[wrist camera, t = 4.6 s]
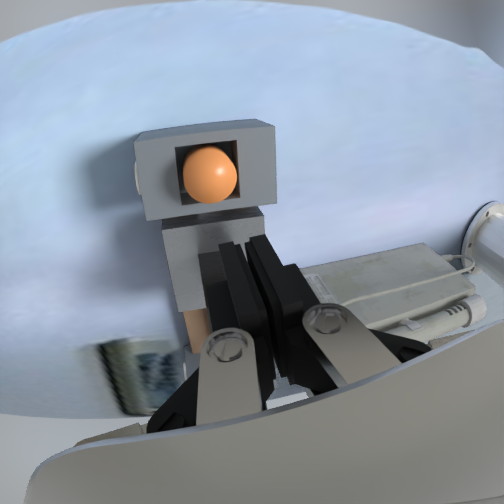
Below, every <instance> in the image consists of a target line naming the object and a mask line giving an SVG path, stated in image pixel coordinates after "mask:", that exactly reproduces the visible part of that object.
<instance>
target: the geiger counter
mask: <svg viewBox="0 0 504 504" xmlns="http://www.w3.org/2000/svg"><path fill="white" fill-rule="evenodd" d="M454 258H467V259H469V260H470V261H471V262H472V264H471V265H470V266H469V267H467V268H464V269H461V270H456V269H455V268H454V267H453V266H452V265H450V264H449V263H448V262H451V261H452V260H453V259H454ZM474 265H475V261H474V259H473V258H471V257H470V256H468V255H451V254H448V255H440V256H439V255H438V254H437V253H436V252H435V251H433V250H432V249H431V248H430V247H428V246H427V245H426V244H424V243H419V244H415V245H410V246H406V247H401V248H397V249H392V250H387V251H383V252H378V253H373V254H369V255H364V256H359V257H355V258H350V259H345V260H340V261H335V262H331V263H326V264H321V265H316V266H311V267H306V268H301V269H299V270H300V271H301V273H302V274H303V276H304V277H305V279H306V280H307V282H308V284H309V285H310V287H311V288H312V290H313V292H314V293H315V295H316V296H317V298H318V299H319V301H320V303H336V304H339V305H342V306H344V307H346V308H347V309H349V310H350V311H351V312H352V313H353V314H354V315H355V316H356V317H357V318H358V319H359V320H360V321H361V322H362V323H363V324H364V325H365V326H366V327H367V328H369V329H373V330H377V331H381V332H385V333H389V334H393V335H397V336H402V337H406V338H410V339H414V340H418V341H420V342H423V343H425V342H427V341H429V340H432V339H435V338H437V337H439V336H442V335H444V334H446V333H448V332H451V331H453V330H455V329H457V328H459V327H464V328H465V327H468V326H470V325H472V324H474V323H477V322H479V321H481V320H482V319H483V318H484V317H485V315H486V312H487V307H486V303H485V301H484V299H483V298H482V297H481V296H480V295H476V294H475V295H474V293H475V289H476V286H475V285H474V284H473V283H471V282H470V281H469V280H468V279H467V278H466V277H465V276H463V275H462V274H461V273H463V272H466V271H469V270H470V269H472V268H473V267H474Z"/></svg>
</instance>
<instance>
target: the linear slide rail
mask: <svg viewBox="0 0 504 504" xmlns="http://www.w3.org/2000/svg"><path fill="white" fill-rule="evenodd" d="M133 143H134V150H135V157H136V162H135V181H136V186H137V190H138V193H139V195H142V200H143V206H144V211H145V217H146V221H152V220H158V219H165V218H171V217H178V216H185V215H192V214H199V213H206V212H213V211H221V210H228V209H236V208H244V207H252V206H260V205H268V204H277V184H276V144H275V126H273V125H270V124H268V123H265V122H263V121H260V120H257V119H247V120H234V121H223V122H212V123H203V124H194V125H186V126H179V127H171V128H164V129H158V130H151V131H145V132H142V133H141V134H140V135H139V137H138V138H137V139H136V140H135V141H134V142H133ZM203 143H211V144H214V145H217V146H218V147H220V148H221V149H222V150H223V151H224V152H225V154H226V155H227V156H228V158H229V159H230V160H231V162H232V163H233V165H234V167H235V169H236V173H237V181H236V185H235V188H234V190H233V191H232V193H231V194H230V195H229V196H228V197H227V198H225V199H224V200H222V201H220V202H217V203H212V204H206V203H201V202H199V201H196V200H195V199H193V198H192V197H191V196H190V195H189V194H188V192H187V190H186V188H185V186H184V178H183V160H184V157H185V155H186V154H187V152H188V151H189V150H190V149H191V148H192V147H194V146H196V145H198V144H203ZM184 353H185V362H183V369H184V376H185V381H186V380H187V379H188V378H189V377H190V376H191V375H192V374H193V373H194V372H195V370H196V369H197V368H198V367H199V365H200V353H195V354H193V352H192V348H191V345H190V346H184ZM274 364H275V371H276V378H277V366H276V363H275V360H274ZM273 382H274V389H277V379H275V380H273Z"/></svg>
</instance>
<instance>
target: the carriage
mask: <svg viewBox="0 0 504 504" xmlns="http://www.w3.org/2000/svg"><path fill="white" fill-rule="evenodd" d="M262 234H265V229H264V215H263V214H262V212H261V211H260V209H259V208H258V206H252V207H244V208H236V209H228V210H221V211H213V212H206V213H199V214H192V215H185V216H178V217H171V218H165V219H163V220H162V235H163V240H164V246H165V251H166V256H167V261H168V266H169V271H170V275H171V280H172V285H173V289H174V294H175V298H176V303H177V307H178V312H183V311H190V310H196V309H203V308H206V309H207V315H208V321H209V326H210V332H211V334H212V333H213V330H212V325H211V319H210V313H209V307H208V301H207V295H206V289H205V284H210V283H214V282H218V281H223V280H226V279H225V274H224V270H223V265H222V261H221V256H220V252H219V247H218V244H222V243H226V242H231V241H233V242H234V245H236V244H240V245H241V247H242V250H243V252H244V255H245V257H246V251H245V245H244V243H245V242H249V237H253V236H257V235H262ZM246 260H247V257H246Z"/></svg>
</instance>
